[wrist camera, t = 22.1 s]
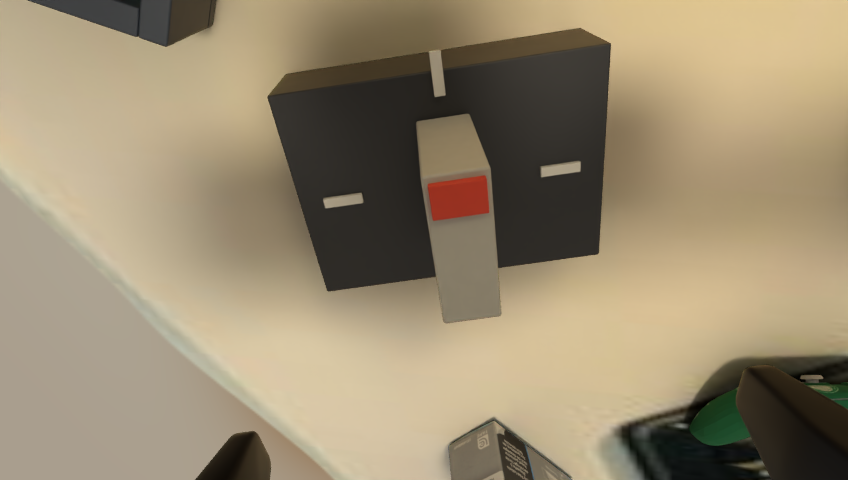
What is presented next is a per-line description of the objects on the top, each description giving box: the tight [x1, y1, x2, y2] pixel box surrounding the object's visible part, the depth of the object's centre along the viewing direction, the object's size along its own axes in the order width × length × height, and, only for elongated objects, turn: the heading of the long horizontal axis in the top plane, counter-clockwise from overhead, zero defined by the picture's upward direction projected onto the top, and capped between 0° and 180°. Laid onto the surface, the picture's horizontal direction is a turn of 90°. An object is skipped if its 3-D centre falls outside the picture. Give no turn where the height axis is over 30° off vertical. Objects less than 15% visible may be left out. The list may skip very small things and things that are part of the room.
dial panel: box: [268, 28, 611, 291], centre depth 19 cm, size 11×9×3 cm
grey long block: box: [416, 114, 501, 323], centre depth 16 cm, size 5×2×5 cm, turn 8°
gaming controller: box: [689, 375, 848, 446], centre depth 27 cm, size 9×4×6 cm
